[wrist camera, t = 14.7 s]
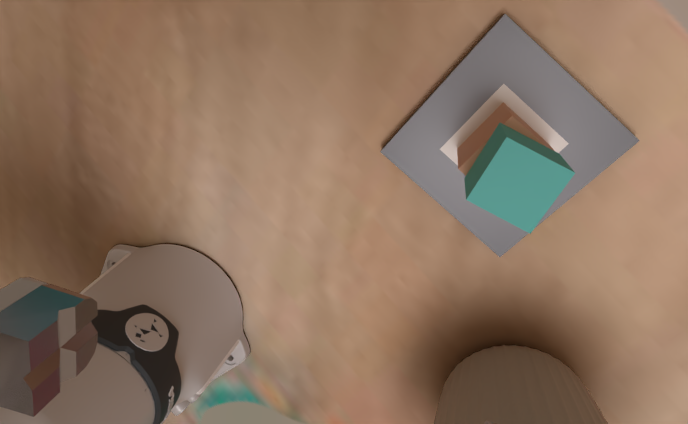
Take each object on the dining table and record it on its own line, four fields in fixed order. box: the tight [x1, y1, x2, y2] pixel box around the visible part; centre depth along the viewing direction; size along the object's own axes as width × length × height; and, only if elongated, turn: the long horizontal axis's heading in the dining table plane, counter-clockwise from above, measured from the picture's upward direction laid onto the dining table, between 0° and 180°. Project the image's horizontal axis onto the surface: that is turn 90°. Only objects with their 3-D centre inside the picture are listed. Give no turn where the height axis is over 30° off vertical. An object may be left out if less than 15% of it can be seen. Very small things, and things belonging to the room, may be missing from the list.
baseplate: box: [381, 14, 639, 257], centre depth 39 cm, size 14×14×1 cm
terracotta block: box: [457, 102, 554, 176], centre depth 35 cm, size 5×5×6 cm
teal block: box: [464, 123, 575, 234], centre depth 31 cm, size 4×4×4 cm
